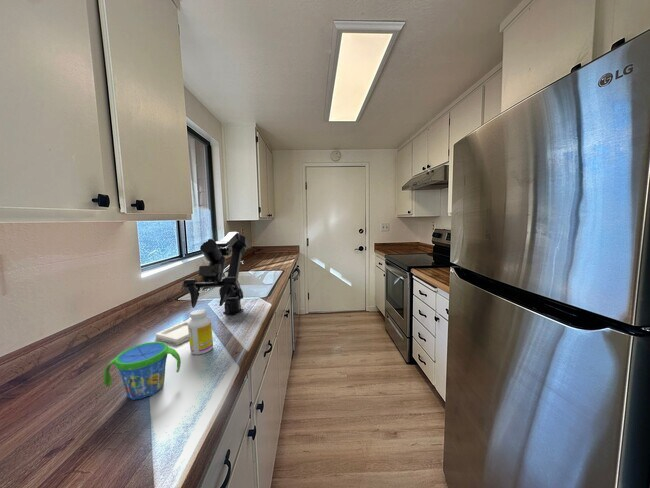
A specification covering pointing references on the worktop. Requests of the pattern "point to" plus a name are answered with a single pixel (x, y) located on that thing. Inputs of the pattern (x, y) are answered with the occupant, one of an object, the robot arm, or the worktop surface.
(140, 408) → the worktop surface
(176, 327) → the tray
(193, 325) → the supplement bottle
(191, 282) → the robot arm
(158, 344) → the snack cup
